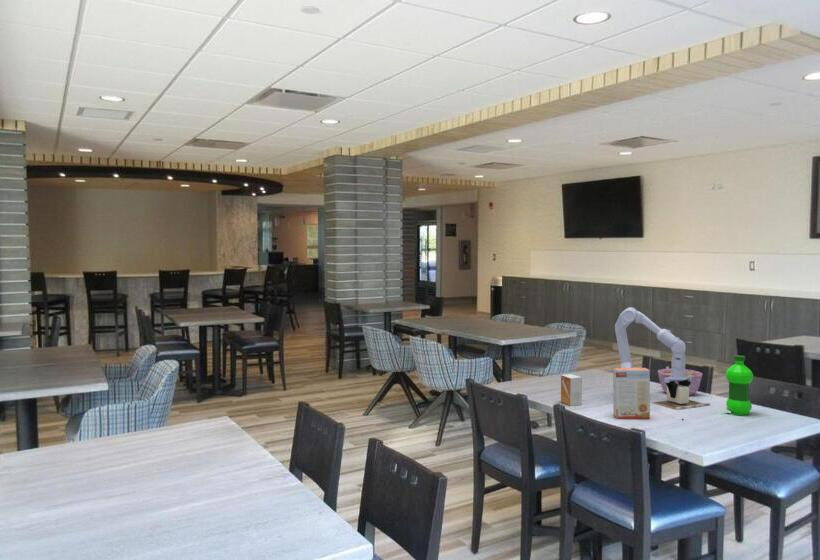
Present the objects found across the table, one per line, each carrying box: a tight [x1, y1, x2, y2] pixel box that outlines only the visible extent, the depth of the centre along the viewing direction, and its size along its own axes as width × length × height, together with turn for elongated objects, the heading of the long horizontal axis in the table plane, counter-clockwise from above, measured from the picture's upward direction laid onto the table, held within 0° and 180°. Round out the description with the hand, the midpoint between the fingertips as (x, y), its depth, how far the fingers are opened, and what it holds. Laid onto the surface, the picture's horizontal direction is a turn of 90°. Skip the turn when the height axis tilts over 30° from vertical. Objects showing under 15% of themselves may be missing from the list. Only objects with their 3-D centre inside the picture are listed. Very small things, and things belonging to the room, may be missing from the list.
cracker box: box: [612, 367, 651, 420], centre depth 263 cm, size 14×6×21 cm, turn 84°
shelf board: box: [652, 399, 711, 411], centre depth 279 cm, size 20×15×2 cm
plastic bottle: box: [725, 354, 754, 416], centre depth 267 cm, size 10×10×25 cm
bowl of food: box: [657, 368, 703, 397], centre depth 301 cm, size 20×20×12 cm
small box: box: [560, 373, 583, 407], centre depth 287 cm, size 8×6×13 cm
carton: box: [666, 385, 690, 404], centre depth 280 cm, size 8×5×7 cm, turn 24°
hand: (677, 397), depth 280 cm, fingers closed on carton, 5 cm apart
